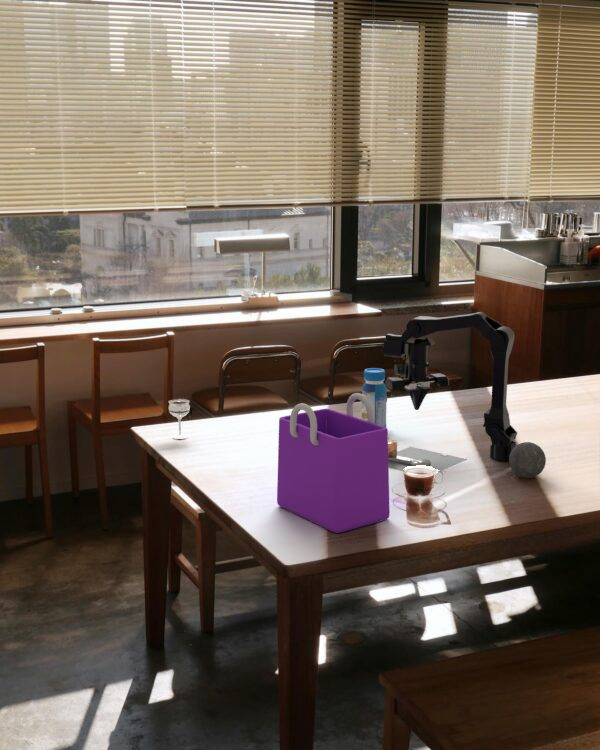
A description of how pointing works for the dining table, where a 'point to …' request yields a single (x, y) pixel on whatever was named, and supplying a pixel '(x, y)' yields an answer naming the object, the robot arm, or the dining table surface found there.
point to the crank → (413, 462)
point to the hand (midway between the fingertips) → (416, 409)
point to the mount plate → (436, 459)
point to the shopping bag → (333, 467)
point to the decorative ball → (527, 460)
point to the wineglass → (179, 409)
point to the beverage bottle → (375, 395)
